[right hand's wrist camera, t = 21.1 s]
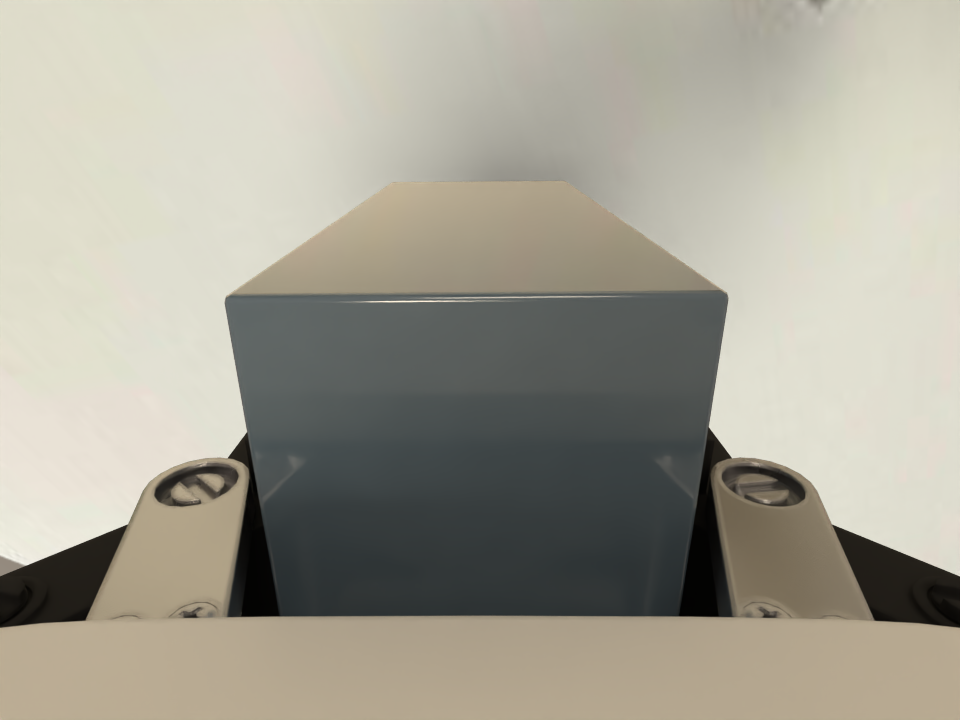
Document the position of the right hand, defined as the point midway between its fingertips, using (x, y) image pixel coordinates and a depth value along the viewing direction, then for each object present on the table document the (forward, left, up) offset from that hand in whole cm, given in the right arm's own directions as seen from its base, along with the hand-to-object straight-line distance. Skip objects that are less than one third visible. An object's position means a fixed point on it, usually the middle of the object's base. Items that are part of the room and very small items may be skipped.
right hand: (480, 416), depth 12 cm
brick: (0, 0, -6) cm, 6 cm away
